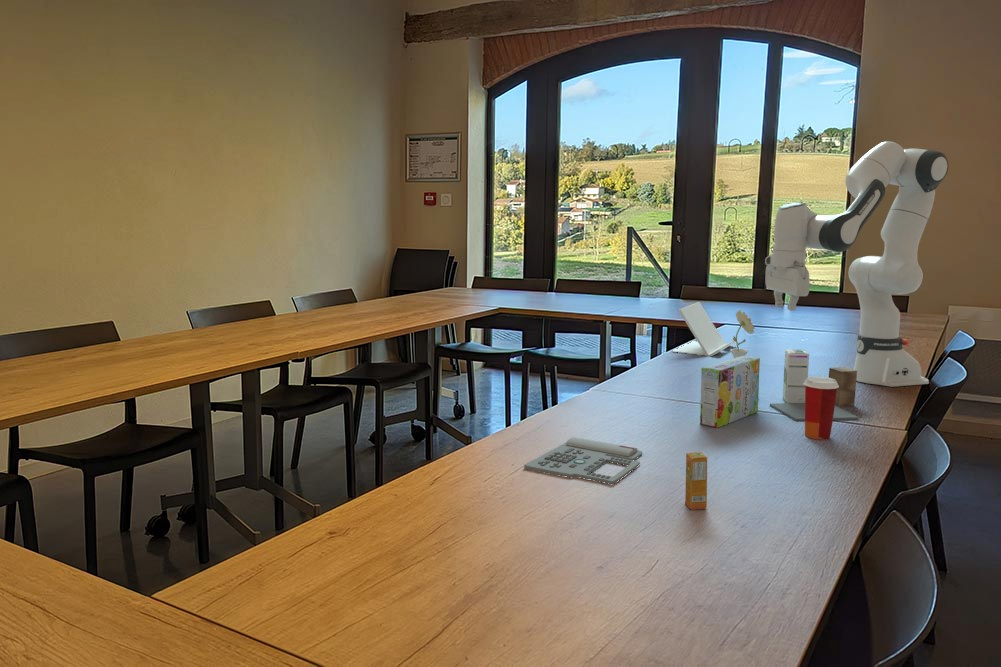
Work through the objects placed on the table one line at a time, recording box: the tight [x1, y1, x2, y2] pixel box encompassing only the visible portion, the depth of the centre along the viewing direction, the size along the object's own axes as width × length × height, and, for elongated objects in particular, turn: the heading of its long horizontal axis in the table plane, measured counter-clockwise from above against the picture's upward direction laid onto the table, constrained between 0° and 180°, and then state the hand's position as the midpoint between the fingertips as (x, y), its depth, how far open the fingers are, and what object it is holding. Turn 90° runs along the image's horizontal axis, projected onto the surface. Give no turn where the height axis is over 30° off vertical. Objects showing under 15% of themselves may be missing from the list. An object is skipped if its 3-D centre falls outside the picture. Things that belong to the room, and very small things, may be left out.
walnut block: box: [828, 366, 857, 408], centre depth 210 cm, size 5×5×10 cm
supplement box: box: [684, 451, 708, 510], centre depth 138 cm, size 3×3×10 cm
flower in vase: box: [729, 309, 755, 359], centre depth 217 cm, size 13×11×25 cm
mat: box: [769, 402, 859, 422], centre depth 202 cm, size 17×15×1 cm
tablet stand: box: [671, 301, 736, 357], centre depth 289 cm, size 18×25×17 cm
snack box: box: [699, 355, 761, 429], centre depth 195 cm, size 21×6×15 cm, turn 134°
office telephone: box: [523, 436, 643, 484], centre depth 163 cm, size 23×3×20 cm
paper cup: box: [803, 376, 839, 440], centre depth 180 cm, size 8×8×14 cm
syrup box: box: [782, 348, 810, 403], centre depth 212 cm, size 6×6×14 cm
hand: (785, 308), depth 218 cm, fingers open, 6 cm apart
